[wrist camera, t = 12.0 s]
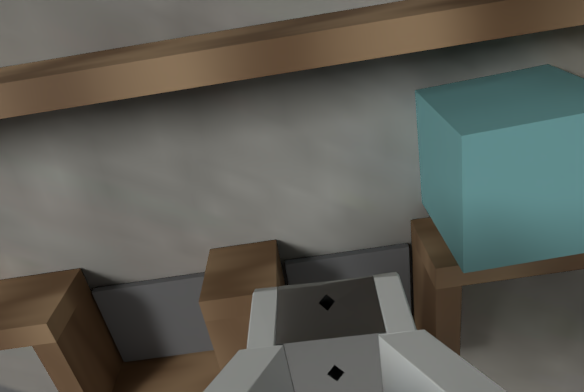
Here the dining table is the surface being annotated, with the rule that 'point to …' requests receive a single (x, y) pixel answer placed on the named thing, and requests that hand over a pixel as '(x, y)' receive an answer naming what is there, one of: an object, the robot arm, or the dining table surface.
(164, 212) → the dining table surface
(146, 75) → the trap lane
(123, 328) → the pads
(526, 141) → the block
